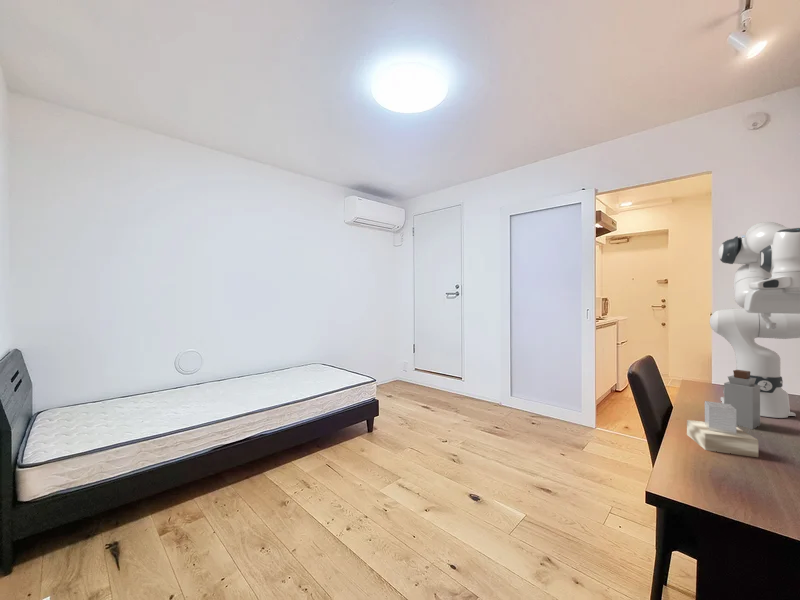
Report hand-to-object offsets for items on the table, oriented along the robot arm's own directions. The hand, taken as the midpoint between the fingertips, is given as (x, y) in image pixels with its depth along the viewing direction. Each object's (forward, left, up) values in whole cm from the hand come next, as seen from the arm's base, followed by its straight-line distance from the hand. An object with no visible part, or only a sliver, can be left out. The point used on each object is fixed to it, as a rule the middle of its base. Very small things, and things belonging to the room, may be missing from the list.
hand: (794, 329), depth 93 cm
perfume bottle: (-12, -8, -34) cm, 37 cm away
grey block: (+14, -20, -29) cm, 38 cm away
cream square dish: (+14, -20, -34) cm, 42 cm away
